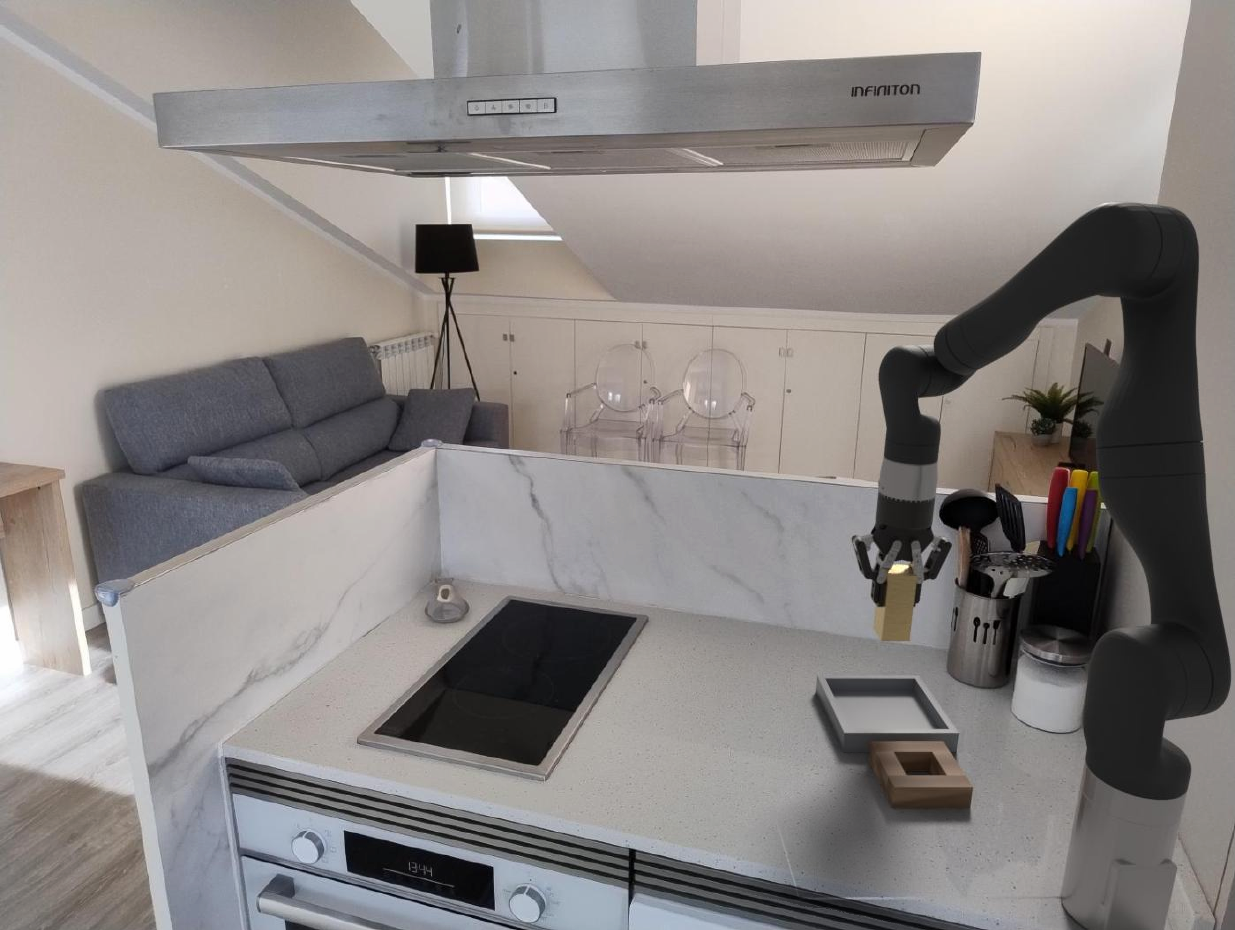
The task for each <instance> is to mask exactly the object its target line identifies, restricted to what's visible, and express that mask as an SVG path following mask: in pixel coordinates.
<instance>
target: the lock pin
mask: <svg viewBox="0 0 1235 930" xmlns="http://www.w3.org/2000/svg"><path fill="white" fill-rule="evenodd" d="M916 581H917V575H916V574H914V572H913V571H912V569H911V568H909V566H908V564H893V566H892V568H891V570H889V572H888V573H887V576H886V580H885V582H884V583H885V593H884V602H883V607H877V605H876V604H875V607H874V616H873V617H874V618H873V625H872V626H873V627H872V629H873V630H874V631H875V633H876V635H877V636H878V638H879V640H880V641H881V642H910V641H911V634H912V632H911V631H912V623H913V616H914V615H913V614H914V608H915V607H914V599H915V590H916Z"/></svg>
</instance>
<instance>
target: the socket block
mask: <svg viewBox="0 0 1235 930" xmlns="http://www.w3.org/2000/svg"><path fill="white" fill-rule="evenodd" d="M868 762H869V765H870V767H871V769H872V771H873V773H874V775H875V777H876V779H877V781H878V783H879V784H880V787H881V789H882V790H883V792H884V795H885V797H886V798H887V801H888V803H889V805H890V807H891V809H892V808H894V809H897V808H899V809H902V808H905V809H908V808H909V809H912V808H913V809H914V808H915V809H917V808H918V809H921V808H922V809H925V808H927V809H929V808H930V809H933V808H935V809H936V808H937V809H938V808H940V809H941V808H944V809H945V808H950V809H951V808H952V809H953V808H955V809H957V808H958V809H959V808H961V809H962V808H971V807H972V806H971V805H972V799H973V792H974V786H973V785H972V783H971V781H970V780H969V778H968V777H967V775H966V774H965V772H964V771H963V769H962V768H961V766H960V765H959V763H958V761H957V760H956V758H955V757H954V756H953V754H952V752H950V751H949V749H948V748H947V746H946V745H945V743H944V742H943V741H870V751H869V752H868ZM906 772H930V775H928V774H927V775H926V774H925V775H924V774H923V775H922V774H921V775H919V774H917V775H911V774H909V775H908V774H907V773H906Z"/></svg>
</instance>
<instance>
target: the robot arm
mask: <svg viewBox="0 0 1235 930" xmlns="http://www.w3.org/2000/svg"><path fill="white" fill-rule="evenodd" d="M1198 241H1199V240H1198V235H1197V231H1196V228H1195V227H1194V224H1193V223H1192V220H1191V219H1190V218H1189V217H1188V216H1187V215H1186V214H1185V213H1184V212H1183V211H1181V210H1179V209H1177V208H1176V207H1172V206H1168V205H1163V204H1157V203H1156V204H1155V203H1144V202H1143V203H1141V202H1134V201H1133V202H1132V201H1112V202H1105V203H1102V204H1099V205H1096V206H1094V207H1092V208H1091V209H1088V210H1087V211H1085V212H1084V213H1083V214H1081V215H1080V216H1079V217H1078V218H1076V219H1075V220H1074V221H1072V223H1070V225H1068V226H1067V227H1066V228H1064V230H1063V231H1061V232H1060V233H1059V234H1058V235H1057V236H1056V237H1055V238H1054V239H1053V240H1052V241H1050V243H1049V244H1047V246H1045V248H1043V249H1042V250H1041V251H1040V252H1039V253H1038V254H1036V255H1035V256H1034V257H1033V258H1032V259H1031V260H1029V262H1028V263H1027V264H1025V266H1023V267H1022V268H1021V269H1019V271H1018V272H1017V273H1015V274H1014V275H1013V276H1012V277H1011V278H1010V279H1009V280H1008V281H1006V282H1005V283H1004V284H1003V285H1001V286H1000V287H998V288H997V289H996V290H995V291H993V292H992V293H991V294H989V295H988V296H986V297H985V298H984V299H981V300H980V301H979V302H977V303H975V304H974V305H972V306H971V307H969V308H967V309H965V311H963V312H962V313H961V312H960V313H959V314H958V315H957V316H955V317H953V318H952V319H951V320H949V321H948V322H946V323H945V324H944V325H943V326H941V327H940V329H938V330H937V332H936V334H935V335H934V339H933V343H926V344H925V343H924V344H923V343H922V344H909V345H908V344H906V345H898V346H893V348H891V349H889V350H888V351H887V352H886V354H884V357H883V358H882V360H881V362H880V365H879V369H878V378H877V379H878V386H879V392H880V399H881V402H882V403H881V404H882V409H883V417H884V421H885V427H886V430H885V438H884V439H885V440H884V447H883V459H882V463H881V466H880V472H879V479H878V483H877V487H878V489H877V490H878V491H877V499H876V509H875V510H876V511H875V522H874V523H875V524H874V527H873V528H872V529H871V531H870V533H868V534H864V535H862V536H860V535H857V534H854V535H853V536H852V537H851V543H852V547H853V549H854V554H855V559H856V562H857V564H858V569H859V571H860V572H861V573H860V574H861V575H863V577H864V578H865V580H871V589H870V598H871V600H872V602H873V603H874V604H875V606H876V605H877V607H883V602H884V593H885V583H884V582H885V580H886V576H887V573H888V572H889V570H891V568H892V566H893V565H894V563H895V562H900V561H904V562H906V563H907V565H908V566H909V568H911V569H912V571H913V572H914V574H916V575H917V581H916V590H915V599H914V608H916V605H917V604H919V603H920V601H921V595H922V588H923V587H922V586H923V583H924V582H925V581H929V580H931V581H934V580H936V579H937V578H938V575H939V573H940V571H941V569H942V568H943V566H944V564H945V561H946V559H947V557H948V555H949V553H950V551H951V549H952V547H953V543H952V542H951V541H950V540H949V539H948V538H947V537H945V536H944V535H935V534H934V532H933V530H932V526H933V521H934V512H935V504H936V503H935V502H936V498H937V497H936V496H937V488H938V486H937V485H938V477H939V472H938V463H939V461H938V460H939V453H940V451H939V450H940V444H941V433H942V428H941V427H942V426H941V423H940V421H939V420H938V419H937V418H936V417H934V416H932V415H929V414H924V413H921V410H920V404H919V399H921V398H923V399H924V398H933V397H935V398H937V397H940V396H945V395H947V394H950V393H952V392H954V391H956V390H957V389H960V387H961V386H963V385H964V384H965V383H966V382H967V381H968V380H970V379H971V378H972V376H973V375H974V374H975V373H976V372H977V371H978V370H980V369H983V368H985V367H986V366H988V365H990V364H992V363H994V362H995V361H998V360H1000V359H1001V358H1003V357H1005V356H1007V355H1008V354H1010V353H1011V352H1013V351H1015V350H1016V349H1017V348H1018V347H1020V346H1021V345H1022V344H1023V343H1024V342H1025V341H1026V340H1027V339H1029V337H1030V336H1031V334H1032V333H1033V331H1034V330H1035V329H1036V327H1037V325H1039V323H1040V322H1041V321H1042V320H1044V318H1046V317H1047V316H1048V315H1051V314H1052V313H1054V312H1055V311H1057V310H1059V309H1061V308H1064V307H1067V306H1068V305H1072V304H1074V303H1077V302H1080V301H1083V300H1085V299H1086V300H1087V299H1088V298H1091V297H1095V296H1099V297H1102V298H1119V299H1120V305H1121V306H1120V307H1121V312H1122V324H1123V325H1122V327H1123V349H1122V355H1121V358H1120V363H1119V367H1118V369H1117V372H1116V374H1115V377H1114V379H1113V381H1112V384H1111V385H1110V387H1109V390H1108V393H1107V395H1106V398H1105V400H1104V403H1103V405H1102V407H1101V410H1100V413H1099V416H1098V419H1097V423H1096V429H1095V448H1096V449H1095V454H1096V468H1097V481H1098V489H1099V493H1100V497H1101V499H1102V502H1103V505H1104V506H1105V509H1106V510H1107V513H1108V514H1109V516H1110V517H1111V520H1112V521H1113V522H1114V523H1115V525H1116V527H1117V528H1118V530H1119V531H1120V533H1121V534H1122V536H1123V537H1124V539H1125V540H1126V541H1127V543H1128V544H1129V545H1130V548H1131V549H1132V551H1133V552H1134V553H1135V555H1136V557H1137V558H1138V560H1139V562H1140V565H1141V567H1142V568H1143V572H1144V575H1145V579H1146V585H1147V589H1148V594H1149V597H1148V598H1149V606H1150V624H1145V625H1136V626H1129V627H1121V628H1115V629H1112V630H1108V631H1107V632H1105V633H1104V634H1103V635H1101V637H1099V639H1098V641H1097V642H1096V644H1095V646H1094V647H1093V650H1092V653H1091V657H1090V659H1089V661H1090V662H1089V667H1088V673H1087V681H1086V682H1087V683H1086V690H1085V691H1086V693H1085V701H1084V709H1083V716H1082V717H1083V718H1082V719H1083V720H1082V730H1083V736H1084V740H1085V746H1086V750H1085V757H1084V763H1083V767H1082V771H1081V772H1082V773H1081V779H1080V782H1079V783H1080V784H1079V789H1078V794H1077V801H1076V806H1075V813H1074V816H1073V823H1072V828H1071V833H1070V839H1069V844H1068V851H1067V855H1066V861H1065V867H1064V868H1065V869H1064V874H1063V879H1062V884H1061V890H1060V900H1061V903H1062V904H1063V907H1064V909H1065V910H1066V912H1067V913H1068V914H1069V916H1071V918H1073V920H1075V922H1077V923H1078V924H1080V925H1081V926H1082V927H1083V928H1085V929H1087V930H1165V927H1166V921H1167V917H1168V912H1169V909H1170V904H1171V899H1172V895H1173V891H1174V886H1175V882H1176V877H1177V873H1178V866H1177V864H1176V863H1175V862H1174V860H1173V857H1174V853H1175V848H1176V845H1177V844H1176V843H1177V839H1178V835H1179V830H1180V825H1181V820H1182V818H1183V817H1182V816H1183V814H1184V813H1183V812H1184V808H1185V803H1186V798H1187V794H1188V790H1189V785H1190V781H1191V775H1192V764H1191V762H1190V759H1189V757H1188V755H1187V754H1186V753H1185V751H1184V750H1182V749H1181V748H1180V747H1179V746H1178V745H1176V744H1175V743H1173V742H1172V741H1171V740H1168V739H1167V738H1165V737H1163V736H1164V731H1165V730H1164V729H1165V724H1166V721H1167V722H1169V721H1173V720H1180V719H1188V718H1193V717H1199V716H1204V715H1208V714H1211V713H1214V712H1215V711H1217V710H1219V709H1220V708H1221V707H1222V706H1223V705H1224V703H1225V701H1227V699H1228V696H1229V693H1230V689H1231V685H1232V666H1231V664H1232V663H1231V657H1230V655H1231V654H1230V649H1229V645H1228V640H1227V634H1226V629H1225V624H1224V619H1223V614H1222V609H1221V604H1220V600H1219V594H1218V588H1217V583H1216V577H1215V570H1214V561H1213V552H1212V551H1213V549H1212V545H1211V544H1212V542H1211V535H1210V534H1211V533H1210V532H1211V531H1210V523H1209V514H1208V504H1207V474H1206V473H1207V472H1206V462H1205V461H1206V460H1205V449H1204V446H1205V445H1204V434H1203V427H1202V419H1201V410H1200V409H1201V408H1200V392H1199V371H1198V356H1197V352H1198V351H1197V314H1198V294H1199V292H1198V291H1199V275H1200V273H1199V272H1200V249H1199V247H1200V246H1199V242H1198ZM873 543H874V544H875V545H876V547H877V548H878V551H877V553H876V557H875V563H874V564H873V565H874V566H873V567H872V566H871V561H870V557H869V554H868V552H870V550H871V548H872V547H871V546H872V544H873ZM929 546H930V548H931V551H930V552H929V555H928V557H927V559H926V561H925V562H924V564H923V557H922V554H923V553H924V551H925V550H926V549H927V548H928V547H929Z"/></svg>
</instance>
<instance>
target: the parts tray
mask: <svg viewBox="0 0 1235 930" xmlns="http://www.w3.org/2000/svg"><path fill="white" fill-rule="evenodd" d="M815 684H816V685H815V694H816V696H817V698H818V700H819V702H820V705H821V707H822V710H823V712H824V714H825V716H826V718H827V720H828V722H829V724H830V725H829V726H830V727H831V729H832V731H833V733H834V736H835V737H836V740H837V742H838V745H839V747H840V749H841V751H842V753H869V751H870V741H943V742H944V743H945V745H946V746H947V748H948V749H949V751H950V752H951V753H957V752H958V743H959V737H960V732H959V730H958V729H957V728H956V726H955V724H954V723H953V722H952V721H951V719H950V717H949V716H948V715H947V713H946V711H945V710H944V709H943V707H941V705H940V704H939V702H938V701H937V699H936V698H935V696H934V695H933V693H932V692H931V690H930V689H929V688H928V686H927V685H926V684H925V682H924V681H923V679H922V678H921V676H920V675H919V674H918V675H917V674H915V675H913V674H902V675H901V674H896V675H894V674H892V675H891V674H885V675H884V674H825V675H824V674H817V675H816V683H815Z"/></svg>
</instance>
